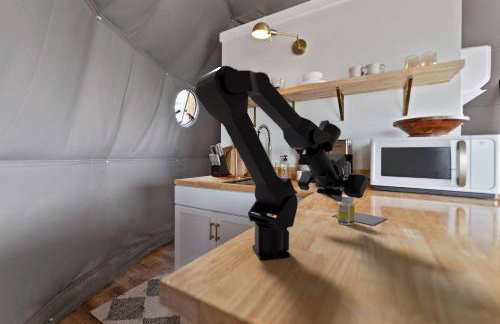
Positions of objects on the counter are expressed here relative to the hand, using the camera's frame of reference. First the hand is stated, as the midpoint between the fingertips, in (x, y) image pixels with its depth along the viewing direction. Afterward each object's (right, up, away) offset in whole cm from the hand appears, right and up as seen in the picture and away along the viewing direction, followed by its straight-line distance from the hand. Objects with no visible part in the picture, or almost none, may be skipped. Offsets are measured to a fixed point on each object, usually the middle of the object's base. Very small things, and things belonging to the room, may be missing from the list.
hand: (340, 200), depth 68 cm
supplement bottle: (+3, -8, +3) cm, 8 cm away
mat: (+10, -7, +9) cm, 15 cm away
